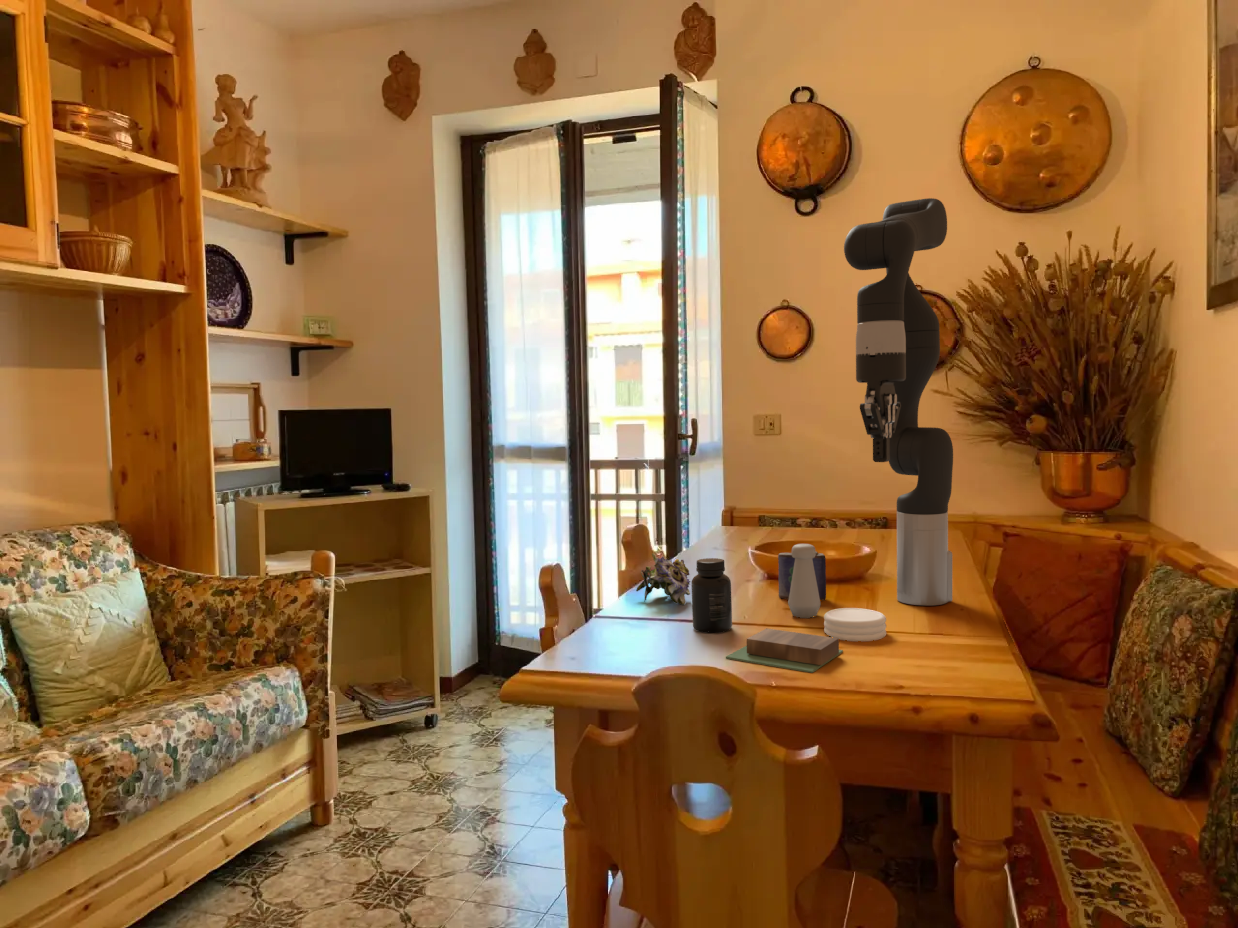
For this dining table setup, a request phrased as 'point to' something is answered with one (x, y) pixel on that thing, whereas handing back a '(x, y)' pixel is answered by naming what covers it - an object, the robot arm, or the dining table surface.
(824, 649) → the wooden block
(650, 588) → the passion flower
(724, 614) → the supplement bottle
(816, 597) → the salt shaker
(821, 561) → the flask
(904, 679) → the dining table surface
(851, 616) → the coaster
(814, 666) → the felt mat
